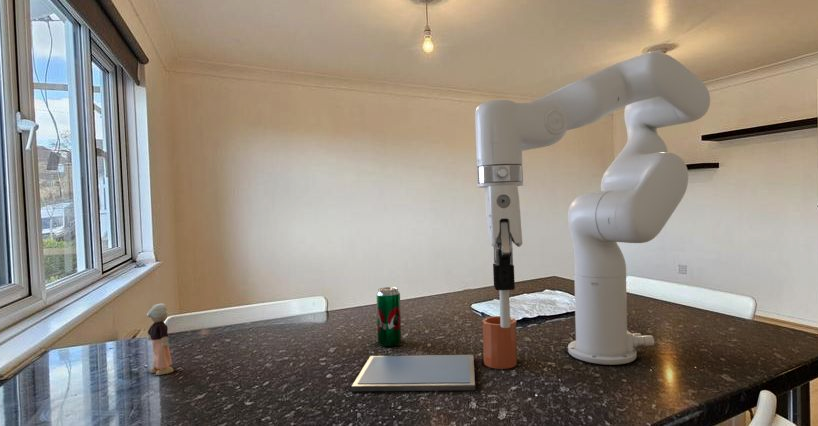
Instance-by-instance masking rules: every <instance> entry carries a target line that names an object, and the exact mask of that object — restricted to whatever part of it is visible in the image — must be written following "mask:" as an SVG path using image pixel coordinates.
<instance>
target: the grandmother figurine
mask: <svg viewBox="0 0 818 426" xmlns="http://www.w3.org/2000/svg"><path fill="white" fill-rule="evenodd" d="M167 310H168V307H167V304H165V303H157V304H156V303H155V304H154V305H153V306H151V308H149V310H148V312H147V313H146V315H145V317H146V318H150V319H151V321H152V324H151V325H150V326H149V328H148V330H147V340H148V341H151V343H152V352H153V357H152V367H153V368H151V370H150V371H149V372H150V373H152V374H154V373H155V376H161V375H168V374H170V373H173V372H174V370H175V369H174V368H173V367H172V365H173V360H172V356H171V351H170V346H169V345H170V344H169V328H168V327H169V326H168V325H167V324H166V323H165V321H166V320H167V319H168V316H169V315H168V312H167Z"/></svg>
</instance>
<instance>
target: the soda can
mask: <svg viewBox="0 0 818 426" xmlns="http://www.w3.org/2000/svg"><path fill="white" fill-rule="evenodd" d="M401 321H402V315H401V292H400V290H399V288H398V287H395V286H387V287H380V288H378V291H377V293H376V327H377V343H378V345H379V346H380V347H383V348H384V347H385V348H392V347H397V346H398V345H399V344H401V342H402V322H401Z"/></svg>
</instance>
